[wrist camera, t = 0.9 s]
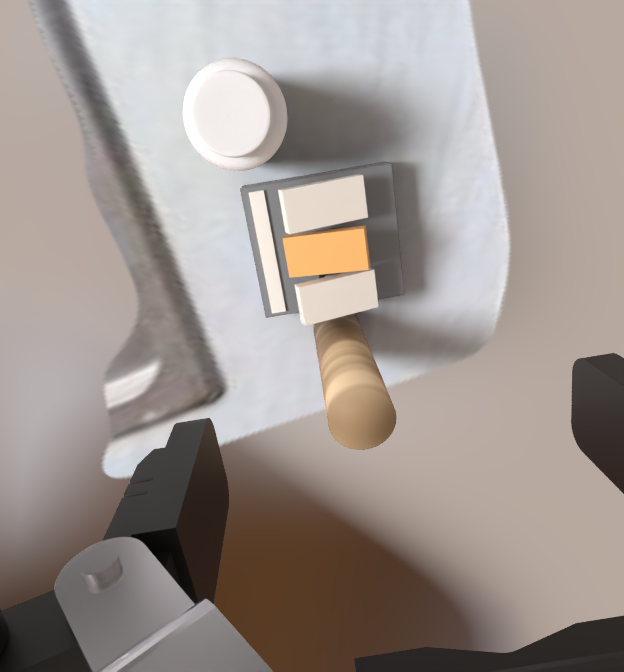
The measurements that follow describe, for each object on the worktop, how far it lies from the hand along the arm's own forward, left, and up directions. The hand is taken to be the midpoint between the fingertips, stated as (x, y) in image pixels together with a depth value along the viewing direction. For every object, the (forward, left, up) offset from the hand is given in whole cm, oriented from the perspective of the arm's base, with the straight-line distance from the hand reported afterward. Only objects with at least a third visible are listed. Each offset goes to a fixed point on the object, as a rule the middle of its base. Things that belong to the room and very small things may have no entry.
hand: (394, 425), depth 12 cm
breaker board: (+1, 0, -28) cm, 28 cm away
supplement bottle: (-8, -4, -28) cm, 29 cm away
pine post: (+8, 0, -28) cm, 29 cm away
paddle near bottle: (-2, 0, -23) cm, 24 cm away
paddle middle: (+1, 0, -23) cm, 24 cm away
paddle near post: (+4, 0, -23) cm, 24 cm away
